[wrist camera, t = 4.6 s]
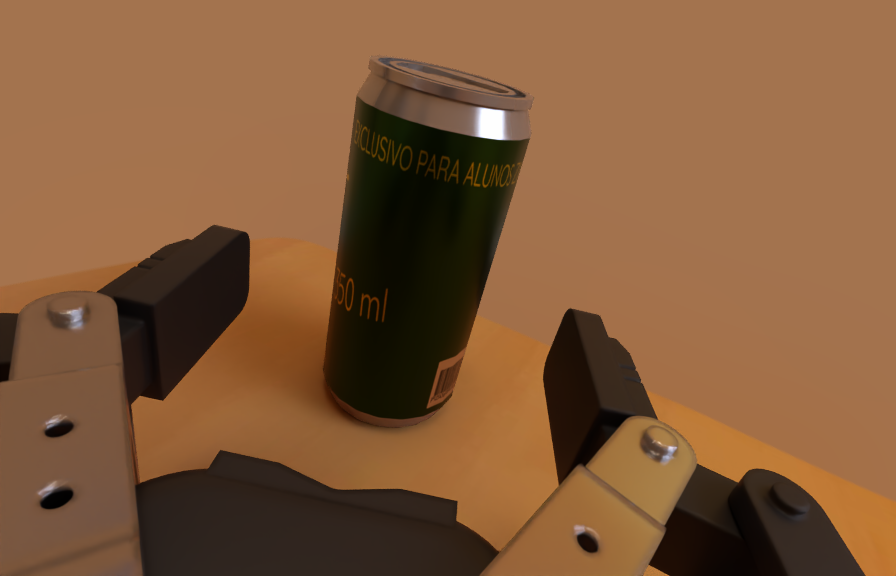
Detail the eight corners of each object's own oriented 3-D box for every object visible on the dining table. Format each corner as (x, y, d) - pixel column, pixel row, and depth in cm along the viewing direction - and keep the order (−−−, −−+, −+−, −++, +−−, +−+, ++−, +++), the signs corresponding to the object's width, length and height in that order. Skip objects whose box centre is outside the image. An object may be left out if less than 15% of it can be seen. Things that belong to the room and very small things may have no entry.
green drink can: (468, 374, 21) (556, 97, 16) (419, 456, 17) (518, 109, 11) (364, 329, 23) (410, 55, 17) (292, 395, 18) (322, 50, 12)
